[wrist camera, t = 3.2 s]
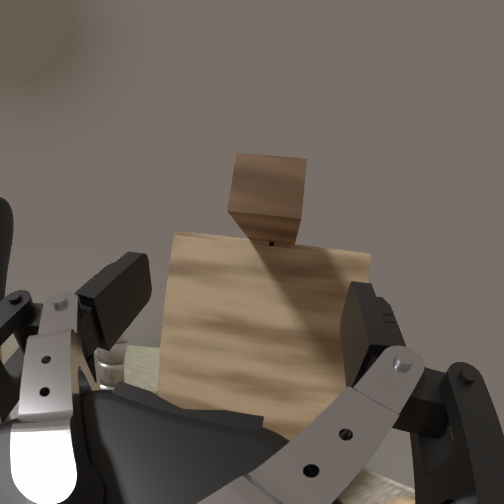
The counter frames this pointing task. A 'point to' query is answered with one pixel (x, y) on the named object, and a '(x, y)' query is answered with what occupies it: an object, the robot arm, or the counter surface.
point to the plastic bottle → (112, 363)
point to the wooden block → (255, 327)
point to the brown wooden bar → (267, 196)
